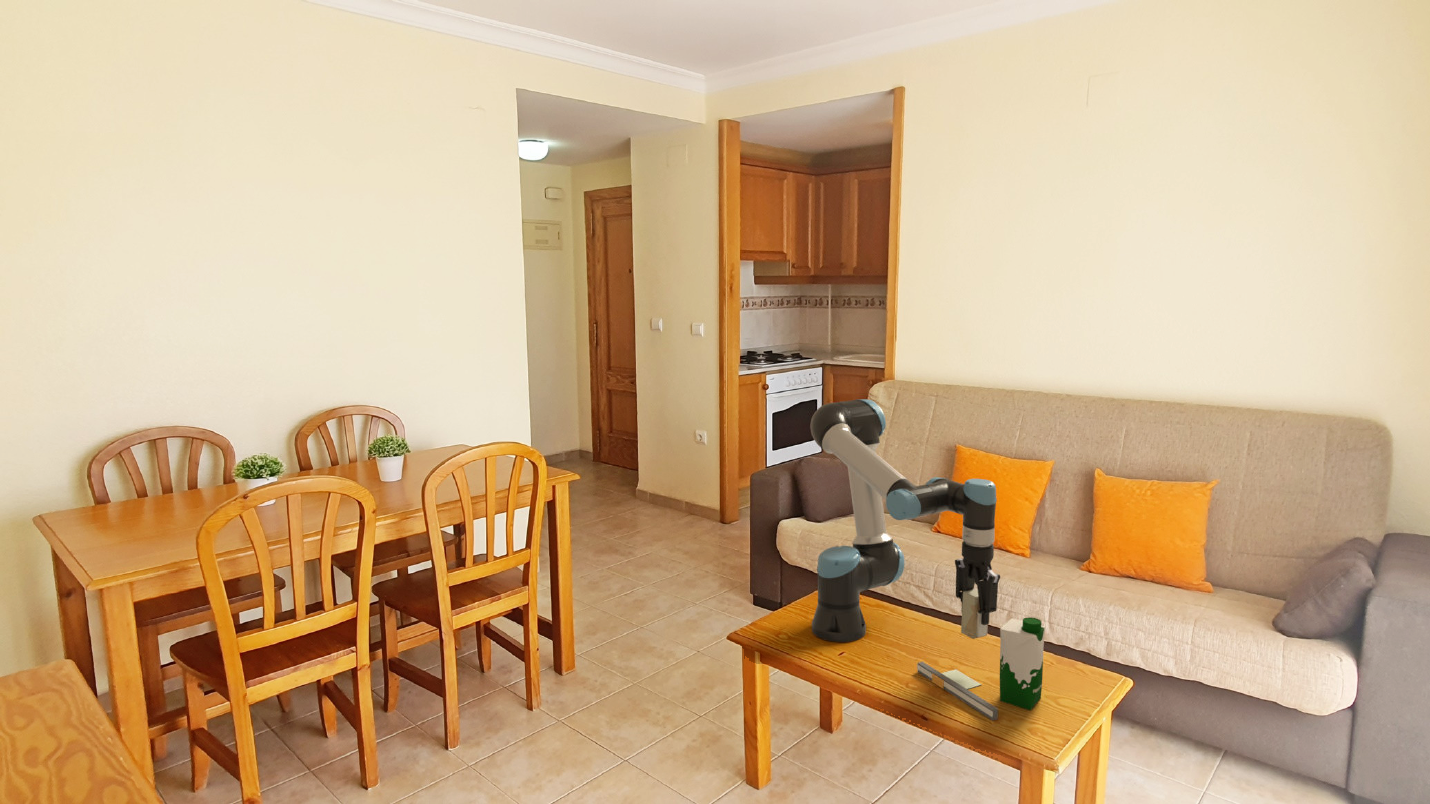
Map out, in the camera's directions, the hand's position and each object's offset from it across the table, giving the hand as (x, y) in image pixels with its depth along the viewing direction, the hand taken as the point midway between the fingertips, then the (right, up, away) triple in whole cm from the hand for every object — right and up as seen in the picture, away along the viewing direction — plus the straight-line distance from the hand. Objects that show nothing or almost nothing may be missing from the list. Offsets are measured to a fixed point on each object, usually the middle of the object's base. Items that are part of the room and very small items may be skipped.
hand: (974, 631), depth 205 cm
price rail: (-8, -12, -10) cm, 18 cm away
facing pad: (-5, -11, -4) cm, 13 cm away
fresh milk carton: (+6, -12, -14) cm, 20 cm away
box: (0, -1, 0) cm, 1 cm away
